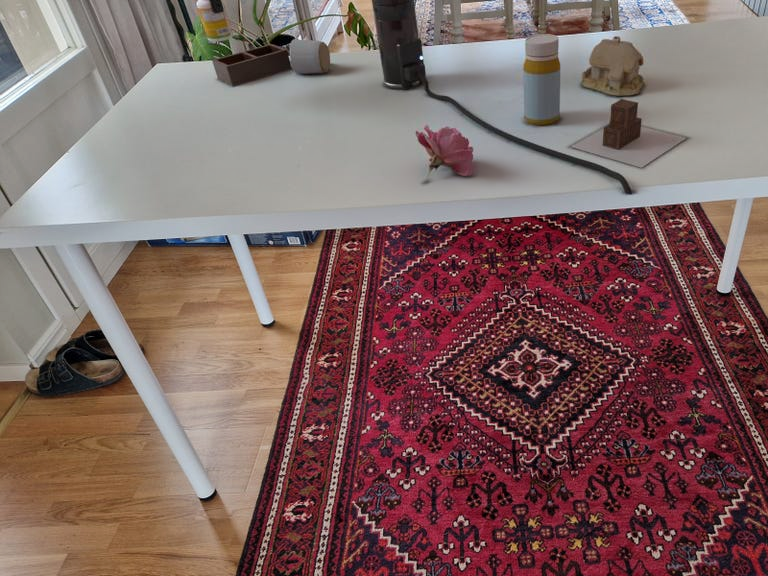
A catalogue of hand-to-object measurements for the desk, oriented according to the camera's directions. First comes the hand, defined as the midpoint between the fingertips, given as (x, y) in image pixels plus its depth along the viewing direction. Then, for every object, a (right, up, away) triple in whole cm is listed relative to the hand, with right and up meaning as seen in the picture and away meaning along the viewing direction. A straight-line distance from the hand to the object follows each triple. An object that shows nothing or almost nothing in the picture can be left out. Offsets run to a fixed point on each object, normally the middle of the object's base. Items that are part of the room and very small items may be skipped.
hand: (212, 10), depth 134 cm
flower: (+50, -40, -20) cm, 67 cm away
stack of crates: (+83, -34, -16) cm, 91 cm away
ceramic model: (+85, -14, +6) cm, 86 cm away
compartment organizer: (-1, 0, +29) cm, 29 cm away
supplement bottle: (0, -4, +4) cm, 6 cm away
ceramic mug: (+14, 0, +28) cm, 31 cm away
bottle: (+69, -25, -6) cm, 73 cm away
